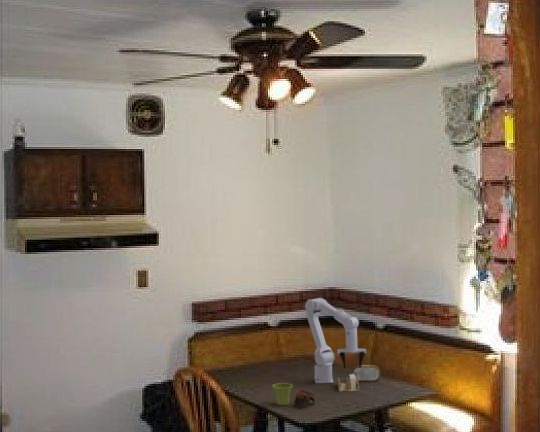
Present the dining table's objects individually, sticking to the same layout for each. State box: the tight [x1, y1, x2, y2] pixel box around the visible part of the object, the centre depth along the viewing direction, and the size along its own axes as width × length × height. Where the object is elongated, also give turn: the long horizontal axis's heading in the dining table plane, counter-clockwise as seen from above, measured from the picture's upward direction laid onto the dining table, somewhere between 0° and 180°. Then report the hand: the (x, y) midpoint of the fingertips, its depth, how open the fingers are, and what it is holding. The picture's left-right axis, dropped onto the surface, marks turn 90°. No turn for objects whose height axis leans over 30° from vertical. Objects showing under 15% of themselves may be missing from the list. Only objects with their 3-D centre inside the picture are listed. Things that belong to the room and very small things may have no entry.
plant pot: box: [272, 382, 293, 406], centre depth 307 cm, size 9×9×9 cm
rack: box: [337, 376, 360, 392], centre depth 331 cm, size 10×12×4 cm
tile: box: [349, 373, 356, 389], centre depth 331 cm, size 2×9×5 cm, turn 177°
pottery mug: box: [293, 389, 316, 409], centre depth 303 cm, size 12×10×8 cm
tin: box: [351, 364, 381, 382], centre depth 344 cm, size 15×3×8 cm, turn 84°
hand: (352, 367), depth 331 cm, fingers open, 7 cm apart
